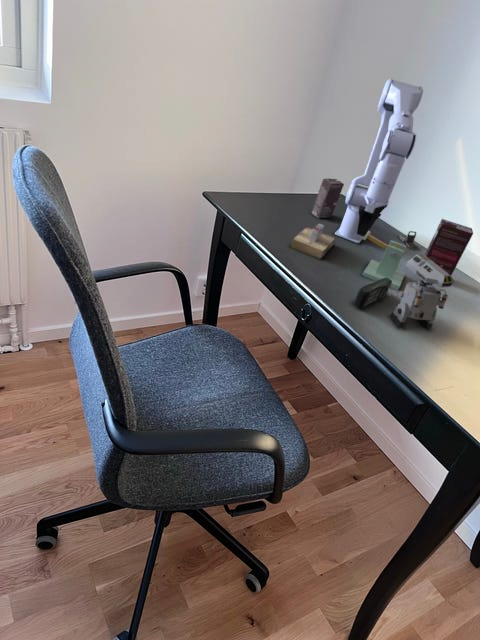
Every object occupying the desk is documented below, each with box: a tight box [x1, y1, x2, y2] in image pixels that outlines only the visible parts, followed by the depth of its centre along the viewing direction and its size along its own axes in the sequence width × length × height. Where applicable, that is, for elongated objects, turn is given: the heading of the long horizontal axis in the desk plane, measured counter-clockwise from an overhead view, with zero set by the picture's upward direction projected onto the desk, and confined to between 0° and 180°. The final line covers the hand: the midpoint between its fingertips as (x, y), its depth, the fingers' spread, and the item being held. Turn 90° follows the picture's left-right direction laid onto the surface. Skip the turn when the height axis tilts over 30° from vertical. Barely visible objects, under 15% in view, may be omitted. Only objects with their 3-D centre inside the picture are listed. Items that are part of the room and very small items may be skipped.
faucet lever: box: [362, 230, 402, 250], centre depth 124 cm, size 10×6×2 cm, turn 65°
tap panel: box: [290, 226, 336, 260], centre depth 133 cm, size 12×10×3 cm
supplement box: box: [424, 218, 474, 276], centre depth 131 cm, size 9×5×16 cm, turn 71°
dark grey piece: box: [353, 278, 392, 309], centre depth 114 cm, size 5×3×15 cm
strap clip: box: [398, 230, 419, 250], centre depth 152 cm, size 8×3×4 cm, turn 15°
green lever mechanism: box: [362, 239, 407, 291], centre depth 125 cm, size 10×10×9 cm
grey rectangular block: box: [309, 223, 325, 242], centre depth 131 cm, size 6×2×4 cm, turn 154°
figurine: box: [387, 253, 455, 329], centre depth 107 cm, size 9×12×15 cm
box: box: [311, 178, 345, 219], centre depth 153 cm, size 6×4×12 cm
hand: (363, 230), depth 124 cm, fingers open, 7 cm apart
